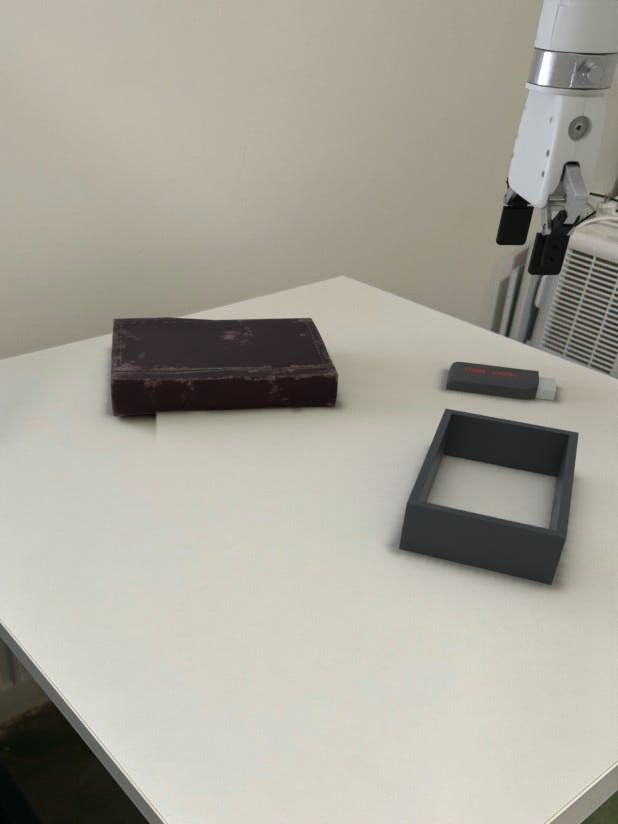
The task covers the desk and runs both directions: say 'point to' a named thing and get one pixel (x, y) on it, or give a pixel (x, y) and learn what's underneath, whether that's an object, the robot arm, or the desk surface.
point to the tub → (484, 535)
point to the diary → (218, 365)
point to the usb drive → (499, 381)
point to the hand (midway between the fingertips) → (525, 258)
